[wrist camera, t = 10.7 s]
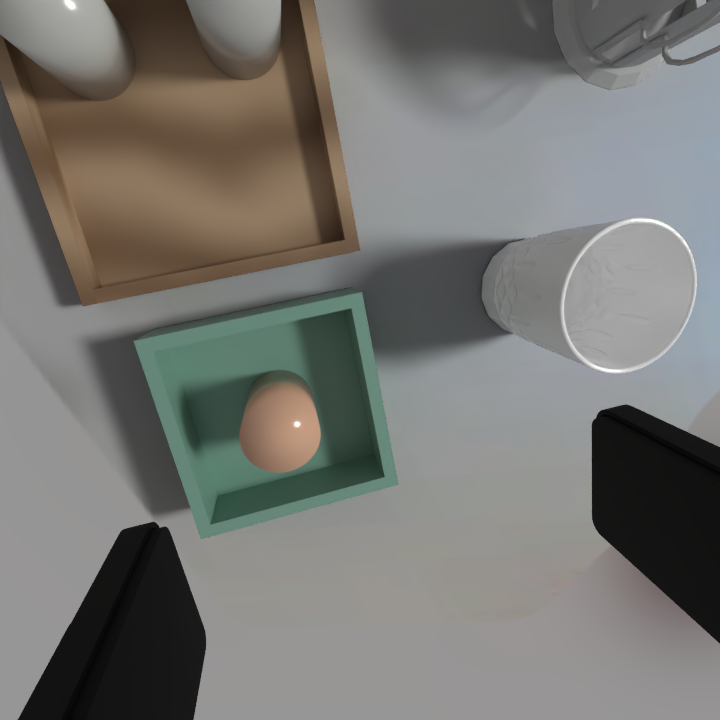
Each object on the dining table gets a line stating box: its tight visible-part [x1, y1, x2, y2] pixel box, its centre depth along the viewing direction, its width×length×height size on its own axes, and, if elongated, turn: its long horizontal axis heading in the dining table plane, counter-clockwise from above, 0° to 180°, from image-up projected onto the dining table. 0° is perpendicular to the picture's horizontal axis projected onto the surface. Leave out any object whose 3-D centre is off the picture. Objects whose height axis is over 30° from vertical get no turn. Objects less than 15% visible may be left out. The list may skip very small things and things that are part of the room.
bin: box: [134, 288, 398, 539], centre depth 28 cm, size 13×13×4 cm
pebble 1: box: [0, 0, 136, 101], centre depth 20 cm, size 4×4×6 cm
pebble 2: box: [186, 0, 281, 80], centre depth 21 cm, size 4×4×6 cm
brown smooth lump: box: [239, 370, 321, 473], centre depth 26 cm, size 4×4×6 cm
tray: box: [0, 0, 360, 306], centre depth 24 cm, size 16×16×2 cm
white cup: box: [481, 218, 697, 374], centre depth 26 cm, size 8×8×10 cm
